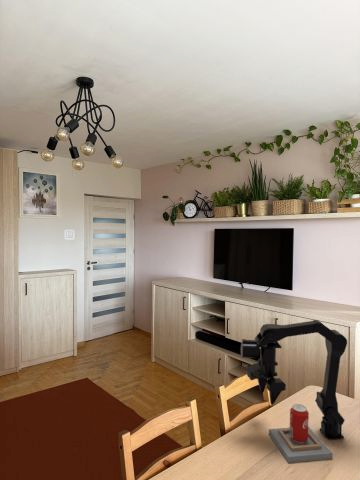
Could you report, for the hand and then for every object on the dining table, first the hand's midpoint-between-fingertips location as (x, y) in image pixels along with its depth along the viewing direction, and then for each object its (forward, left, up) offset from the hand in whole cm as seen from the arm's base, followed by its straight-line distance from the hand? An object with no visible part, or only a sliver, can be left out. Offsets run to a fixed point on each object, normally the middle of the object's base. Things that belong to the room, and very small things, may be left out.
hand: (266, 398), depth 133 cm
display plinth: (-8, +10, -13) cm, 18 cm away
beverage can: (-8, +10, -11) cm, 17 cm away
